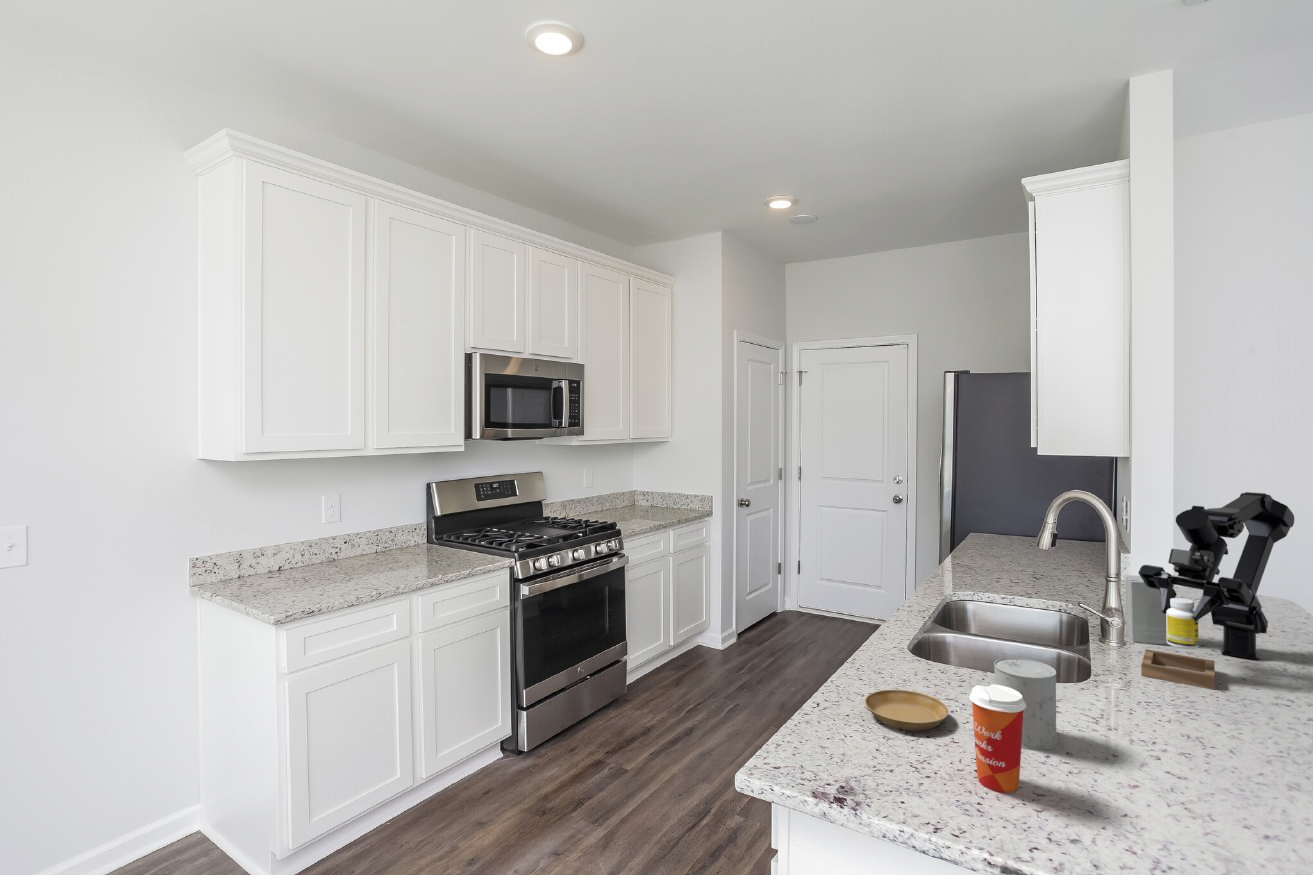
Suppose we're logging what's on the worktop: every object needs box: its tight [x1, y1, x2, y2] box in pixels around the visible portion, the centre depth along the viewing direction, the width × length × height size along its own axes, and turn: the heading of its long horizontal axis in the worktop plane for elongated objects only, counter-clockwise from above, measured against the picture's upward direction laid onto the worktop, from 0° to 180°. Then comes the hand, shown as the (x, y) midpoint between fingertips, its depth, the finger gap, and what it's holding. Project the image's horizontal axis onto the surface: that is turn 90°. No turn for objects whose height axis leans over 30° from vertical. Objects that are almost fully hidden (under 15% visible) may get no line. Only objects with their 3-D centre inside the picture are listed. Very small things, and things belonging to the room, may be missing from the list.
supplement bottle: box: [1166, 597, 1199, 650], centre depth 141 cm, size 5×5×10 cm
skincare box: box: [1125, 574, 1172, 646], centre depth 163 cm, size 8×7×16 cm
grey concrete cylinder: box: [993, 657, 1058, 751], centre depth 115 cm, size 10×10×12 cm
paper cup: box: [969, 683, 1026, 794], centre depth 101 cm, size 8×8×14 cm
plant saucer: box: [864, 689, 950, 732], centre depth 124 cm, size 15×15×3 cm
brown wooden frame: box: [1140, 648, 1216, 691], centre depth 142 cm, size 12×12×2 cm
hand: (1178, 615), depth 140 cm, fingers closed on supplement bottle, 5 cm apart
